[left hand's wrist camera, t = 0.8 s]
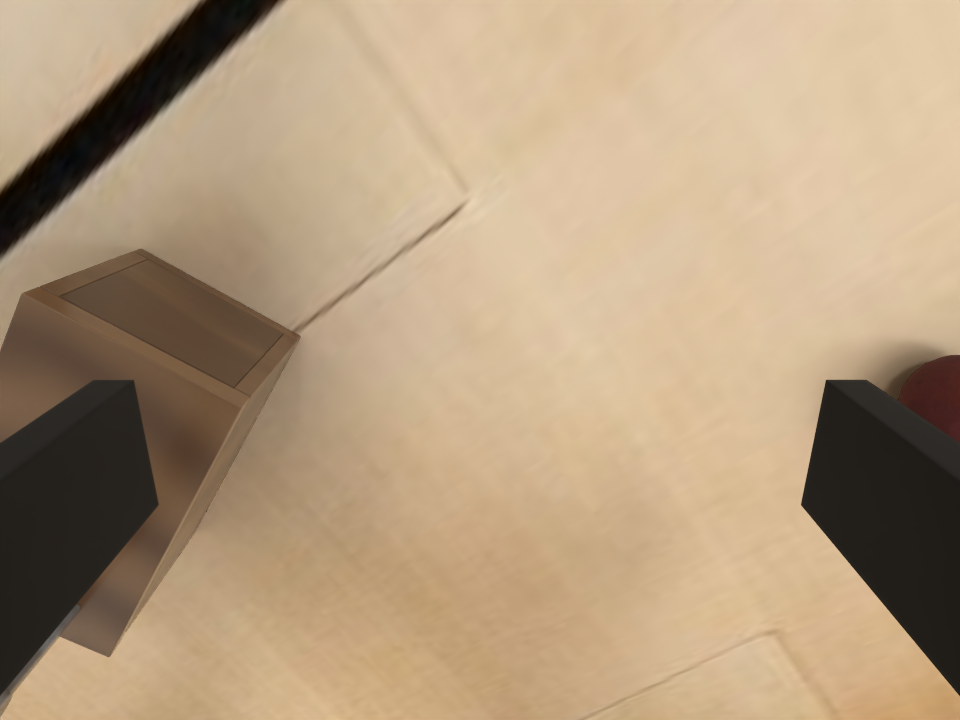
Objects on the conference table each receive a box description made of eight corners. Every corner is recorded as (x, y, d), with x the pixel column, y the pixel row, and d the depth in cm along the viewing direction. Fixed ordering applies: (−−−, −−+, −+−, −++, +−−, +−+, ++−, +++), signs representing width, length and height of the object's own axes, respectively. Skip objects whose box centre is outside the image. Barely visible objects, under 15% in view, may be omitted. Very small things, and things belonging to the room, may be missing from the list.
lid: (121, 641, 35) (17, 791, 27) (-67, 560, 33) (-235, 695, 25) (251, 396, 30) (169, 494, 22) (39, 286, 28) (-130, 349, 20)
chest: (194, 533, 43) (124, 633, 35) (47, 464, 41) (-63, 552, 33) (301, 336, 38) (251, 396, 30) (141, 248, 37) (39, 285, 28)
